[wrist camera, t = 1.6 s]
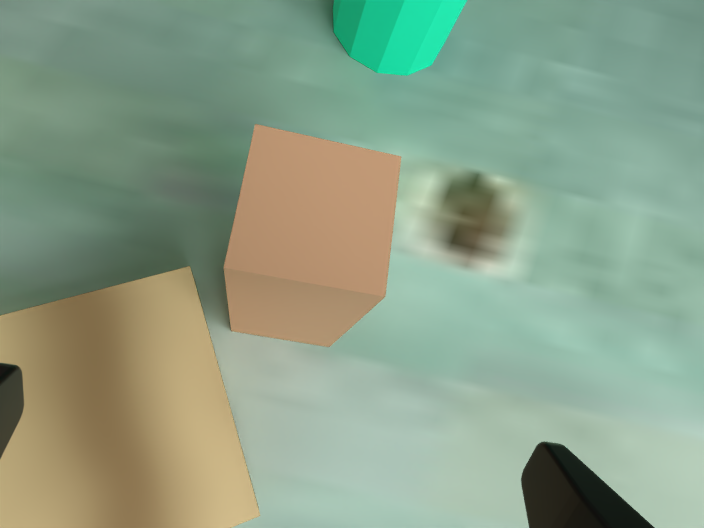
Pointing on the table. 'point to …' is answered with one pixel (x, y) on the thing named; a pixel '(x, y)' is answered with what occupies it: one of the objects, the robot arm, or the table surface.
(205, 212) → the table surface
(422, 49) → the candle
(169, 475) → the oak block
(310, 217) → the terracotta block
